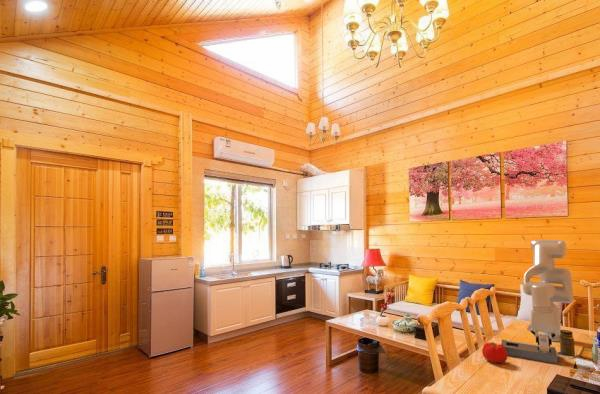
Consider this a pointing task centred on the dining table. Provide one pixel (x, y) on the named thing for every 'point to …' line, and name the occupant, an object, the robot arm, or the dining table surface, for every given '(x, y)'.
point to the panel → (529, 351)
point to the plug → (543, 342)
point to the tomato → (494, 352)
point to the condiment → (566, 344)
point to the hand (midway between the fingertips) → (543, 344)
